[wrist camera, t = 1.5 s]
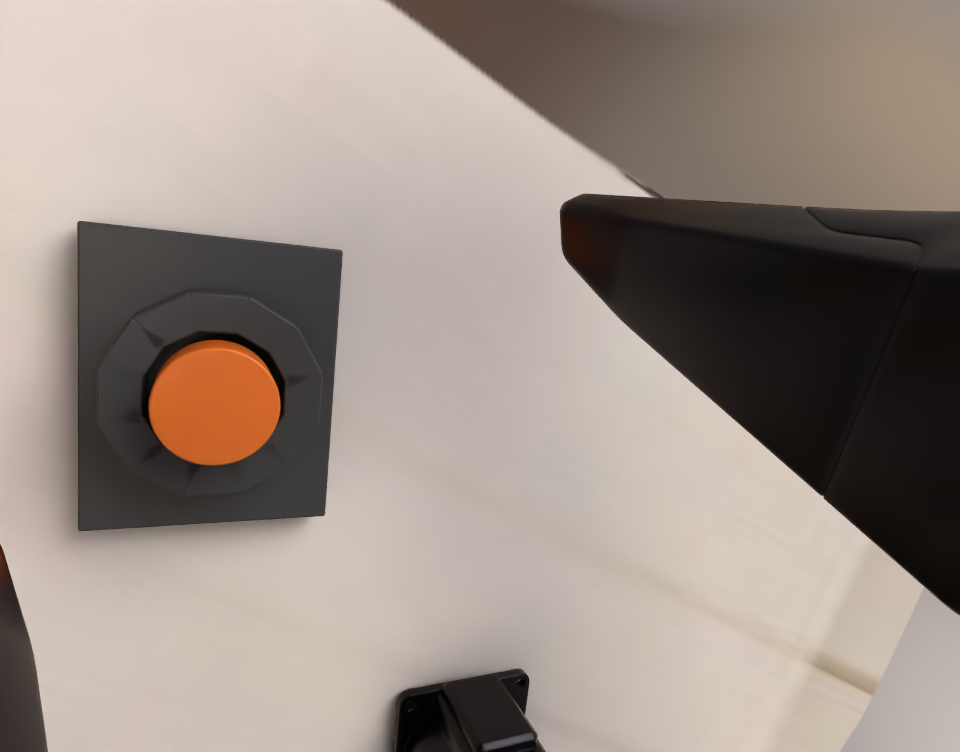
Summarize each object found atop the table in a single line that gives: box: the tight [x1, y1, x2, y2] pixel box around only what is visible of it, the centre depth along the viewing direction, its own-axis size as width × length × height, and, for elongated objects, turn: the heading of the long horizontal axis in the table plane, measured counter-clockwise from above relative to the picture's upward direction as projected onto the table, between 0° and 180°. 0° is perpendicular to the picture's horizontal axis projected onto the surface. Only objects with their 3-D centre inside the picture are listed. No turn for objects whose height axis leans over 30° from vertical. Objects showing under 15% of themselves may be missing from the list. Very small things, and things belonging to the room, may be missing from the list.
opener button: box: [148, 340, 280, 466], centre depth 19 cm, size 4×4×2 cm
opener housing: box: [77, 221, 343, 531], centre depth 21 cm, size 10×8×3 cm
